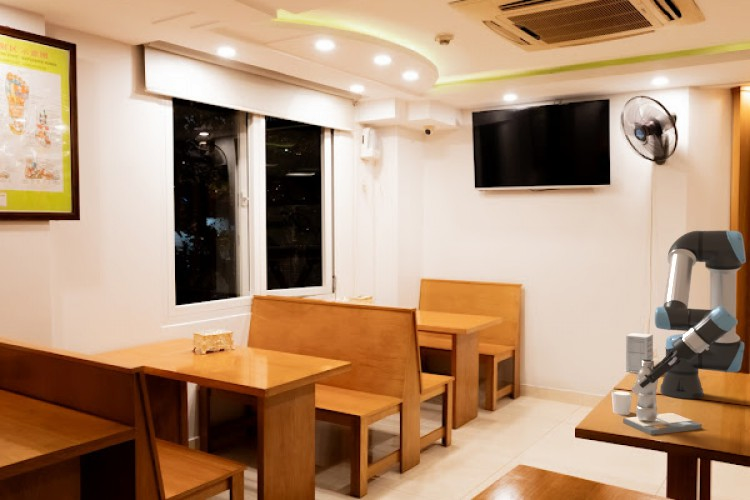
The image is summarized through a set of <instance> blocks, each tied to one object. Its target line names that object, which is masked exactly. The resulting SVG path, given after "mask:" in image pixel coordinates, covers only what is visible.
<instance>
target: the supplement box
mask: <svg viewBox="0 0 750 500" xmlns="http://www.w3.org/2000/svg"><path fill="white" fill-rule="evenodd" d="M625 337H626V338H625V372H626V373H631V374H638V372H639V370H640V369H641V368H642V366H641V364H642V360H644V359H648V360H653V361H654V355H653V354H654V335H653V334H652V333H639V332H637V333H636V332H631V333H629V334H626V336H625ZM631 371H632V372H631Z"/></svg>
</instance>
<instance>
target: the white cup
mask: <svg viewBox="0 0 750 500" xmlns="http://www.w3.org/2000/svg"><path fill="white" fill-rule="evenodd" d="M632 396H633V393H631V392H628V391H624V390H613V391H611V400H612V401H611V403H612V413H614V414H616V415H620V416H626V415H628V416H629V415H630V414H631V406H632Z"/></svg>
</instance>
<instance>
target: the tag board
mask: <svg viewBox="0 0 750 500" xmlns="http://www.w3.org/2000/svg"><path fill="white" fill-rule="evenodd" d="M622 420H623V421H622V423H623V424H625V425H627V426H630V427H632V428H634V429H636V430H639V431H641V432H643V433H645V434H647V435H649V436H655V434H656V435H663V434H670V433H677V432H685V431H687V432H688V431H696V430H702V428H703V426H702V425H703V424H702V423H699V422H697V421H694V420H692V419H690V418H687V417H685V416H681V415H679V414H676V413H673V412H666V413H658V415H657V419H656V420H655V421H642V420H639V419H638V418H637V416H631V417H629V416H628V417H624V418H622Z"/></svg>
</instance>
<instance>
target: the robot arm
mask: <svg viewBox="0 0 750 500" xmlns="http://www.w3.org/2000/svg"><path fill="white" fill-rule="evenodd" d="M745 249H746V248H745V243H744V237H743V233H741V232H740V231H739V230H738V231H736V230H727V229H726V230H725V229H724V230H691V231H689V232H687V233H685V234H683V235H681V236H679V237H678V238H677V239H676V240H675V241H674V242H673V243H672V244H671V246H670V248H669V249H668V250H669V251H668V252H667V253H668V254H667V262H668V264H669V266H668V273H667V279H666V285H665V292H664V300H663V305H662V306H657V307H655V309H654V310H655V311H654V325H655V327H656V328H657V329H659V330H668V331H680V332H681V331H684V333H680V334H673V335H670V336H668V337H666V341H665V347H664V349H665V357H663V359H662V360H660V361H659V362H658V363H657V364H655V365H654V367H653V369H654V371H652V372H651V373H650V374H649V375H646V374H645V375H644V376H645V377H644V378H643V379H642V380H641V381H639V382H637V380H636V381H634V382H633V383H634V385H633V386H632V387H630V390H631V391H632V393H634V395H635V396H636V397H637V396H638V394H639V393H640V392H642V391H643V390H644V389H645V388H647V387H648V386H649V385H650V384H652V383H654V382H655V381H656V380H657V379H658V380H659V379H660V378H661V377H662V376H663V379H662V383H661V384H660V387H659V388H660V389H659V390H660V393H661V394H663V395H665V396H668V397H672V398H678V399H686V400H687V399H693V400H694V399H701V398H703V397H704V389H703V387H702V383H701V380H700V377H699V370H707V371H714V372H715V371H716V372H722V373H723V372H724V373H738V372H739V371H740V370H741V367H742V362H743V358H744V350H745V343H744V342H743V341H741V337H740V336H739V334H737V333H736V331H737V330H736V326H737V325H738V323H739V322H738V319H737V317H736V316H737V314H736V312H737V309H736V308H737V272H738V271H739V270H740V269H741V268H742V265H743V264H745V263H746V262H747V261H746V258H747V257H746V250H745ZM697 262H698V263H705V264H704V265H705V269H707V270H708V271H709V309H707V308H706V309H703V308H689V301H690V300H689V298H690V292H691V291H690V290H691V282H692V274H693V272H692V271H693V267H694V266H695V265H696V263H697ZM652 377H653V378H654V379H653V378H652Z"/></svg>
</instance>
